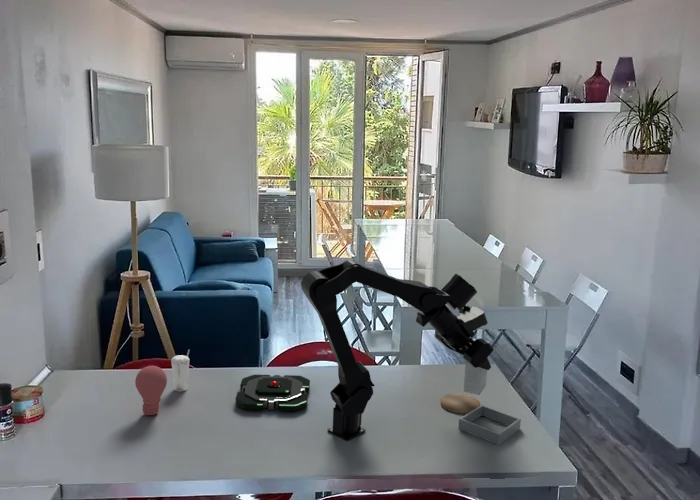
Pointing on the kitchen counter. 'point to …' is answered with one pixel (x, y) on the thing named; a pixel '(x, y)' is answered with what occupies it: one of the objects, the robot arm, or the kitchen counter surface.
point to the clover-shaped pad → (273, 392)
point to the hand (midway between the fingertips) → (481, 363)
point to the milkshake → (180, 372)
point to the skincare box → (474, 378)
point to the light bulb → (151, 387)
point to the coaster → (459, 403)
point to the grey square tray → (484, 432)
